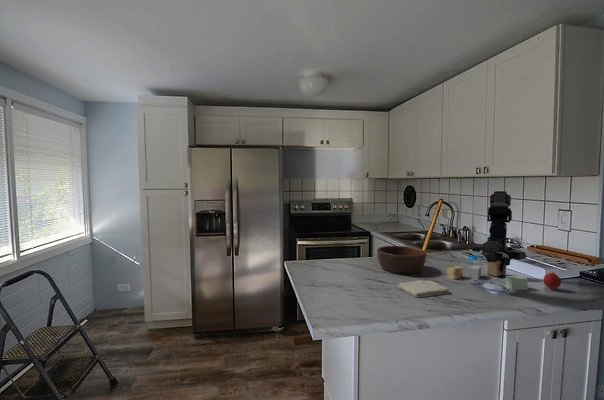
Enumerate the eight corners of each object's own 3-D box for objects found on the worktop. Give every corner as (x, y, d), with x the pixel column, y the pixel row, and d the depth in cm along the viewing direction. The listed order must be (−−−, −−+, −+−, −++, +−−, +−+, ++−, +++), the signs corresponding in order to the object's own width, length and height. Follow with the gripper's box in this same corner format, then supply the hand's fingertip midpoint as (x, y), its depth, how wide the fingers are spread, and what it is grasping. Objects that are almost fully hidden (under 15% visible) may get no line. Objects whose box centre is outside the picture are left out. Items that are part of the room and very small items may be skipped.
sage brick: (520, 287, 129) (521, 276, 128) (527, 289, 125) (527, 278, 125) (505, 287, 128) (506, 276, 128) (511, 290, 125) (512, 278, 124)
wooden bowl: (368, 269, 154) (369, 250, 154) (388, 260, 173) (388, 243, 173) (416, 279, 138) (416, 258, 138) (432, 268, 157) (432, 249, 157)
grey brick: (472, 274, 146) (473, 265, 146) (480, 276, 144) (481, 266, 144) (469, 278, 141) (469, 267, 141) (477, 279, 139) (478, 269, 138)
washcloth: (451, 294, 120) (451, 287, 120) (415, 299, 115) (415, 292, 114) (429, 285, 132) (430, 278, 131) (396, 289, 126) (396, 282, 126)
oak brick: (455, 275, 144) (456, 266, 144) (462, 277, 141) (462, 267, 141) (446, 277, 141) (447, 267, 141) (453, 279, 138) (453, 269, 138)
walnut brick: (496, 271, 125) (497, 260, 125) (505, 273, 122) (506, 262, 122) (487, 274, 122) (488, 262, 122) (496, 276, 119) (496, 264, 119)
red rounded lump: (556, 288, 127) (557, 270, 127) (563, 292, 122) (564, 273, 121) (540, 286, 129) (541, 268, 129) (546, 291, 123) (547, 272, 123)
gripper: (464, 233, 126) (463, 268, 127) (512, 240, 109) (511, 280, 110) (479, 231, 131) (478, 265, 132) (527, 237, 115) (526, 276, 115)
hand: (496, 271), depth 122 cm, fingers closed on walnut brick, 3 cm apart
